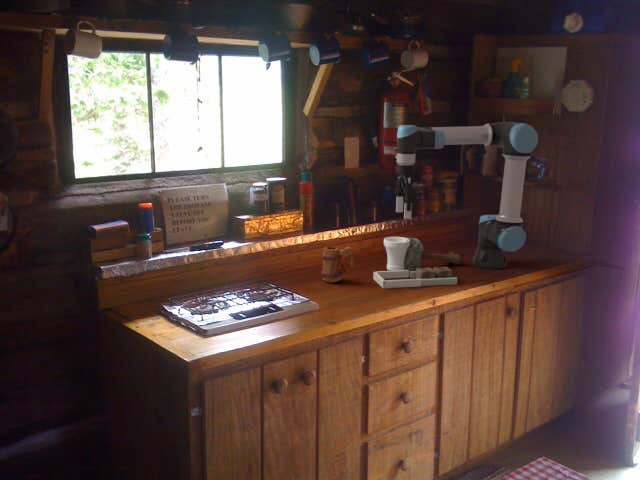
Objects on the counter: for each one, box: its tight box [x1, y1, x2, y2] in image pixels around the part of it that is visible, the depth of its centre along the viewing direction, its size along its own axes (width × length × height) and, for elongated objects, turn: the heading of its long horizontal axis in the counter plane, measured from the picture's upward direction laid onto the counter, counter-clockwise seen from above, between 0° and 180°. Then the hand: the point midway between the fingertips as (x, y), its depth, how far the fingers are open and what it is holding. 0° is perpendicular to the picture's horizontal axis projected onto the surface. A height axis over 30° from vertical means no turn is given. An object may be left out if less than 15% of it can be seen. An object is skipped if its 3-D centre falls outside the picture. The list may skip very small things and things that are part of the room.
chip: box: [432, 266, 453, 278], centre depth 291 cm, size 6×6×5 cm
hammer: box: [404, 237, 462, 272], centre depth 310 cm, size 15×10×30 cm
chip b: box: [415, 267, 435, 279], centre depth 290 cm, size 6×6×5 cm
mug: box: [320, 245, 356, 283], centre depth 285 cm, size 15×8×15 cm, turn 70°
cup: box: [383, 236, 410, 271], centre depth 302 cm, size 11×11×14 cm
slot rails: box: [409, 270, 458, 287], centre depth 291 cm, size 16×13×2 cm
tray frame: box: [372, 270, 421, 289], centre depth 287 cm, size 16×14×3 cm
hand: (403, 215), depth 287 cm, fingers open, 13 cm apart
